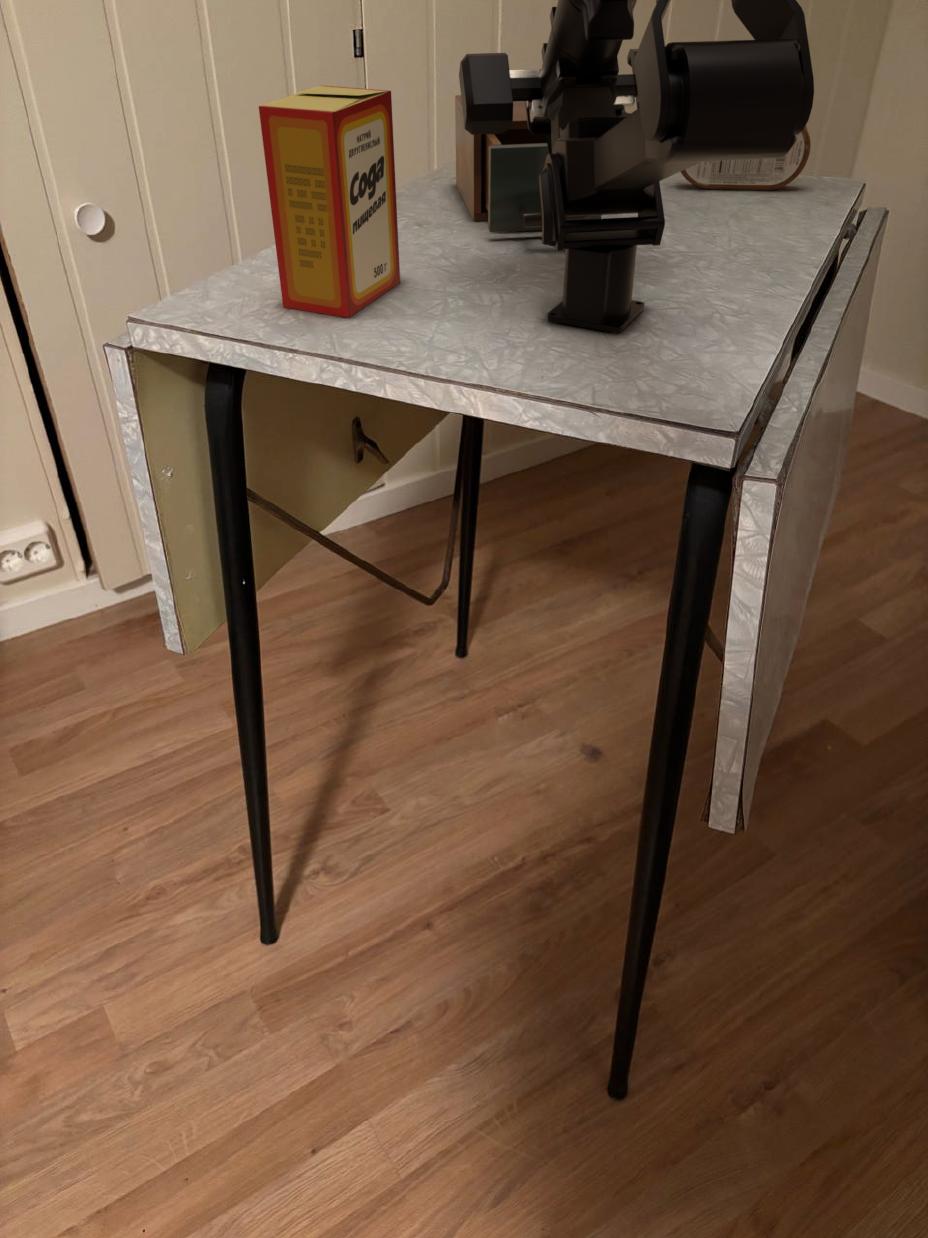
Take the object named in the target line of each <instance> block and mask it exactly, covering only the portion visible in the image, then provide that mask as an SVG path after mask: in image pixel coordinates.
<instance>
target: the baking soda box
mask: <svg viewBox="0 0 928 1238" xmlns="http://www.w3.org/2000/svg"><path fill="white" fill-rule="evenodd" d="M258 115H259V121H260V122H259V123H260V130H261V138H262V146H263V147H262V148H263V154H264V161H265V162H264V164H265V170H266V171H265V172H266V179H267V187H268V195H269V203H270V210H271V211H270V213H271V220H272V227H273V236H274V242H275V243H274V245H275V251H276V260H277V268H278V277H279V285H280V292H281V302H282V308H287V309H293V310H298V311H305V312H310V313H311V312H312V313H318V314H322V315H329V316H336V317H341V318H347V319H350V318H351V317H353V316H354V315H356V314H357V313H358V312H360V311H361V310H362V309H364V308H366V307H368V306H369V305H370V304H371V303H373V302H374V301H376V300H377V299H379V298H380V297H382V296H383V295H385V294H386V293H387V292H389V291H390V290H392V289H393V288H394V287H396V286H397V285H399V284H400V283H401V270H400V269H401V268H400V248H399V228H398V227H399V226H398V208H397V207H398V205H397V187H396V186H397V184H396V183H397V182H396V167H395V166H396V165H395V144H394V141H395V140H394V124H393V123H394V122H393V120H394V119H393V103H392V90H386V89H373V88H360V87H346V86H334V85H318V86H314V87H312V88H311V87H310V88H308V89H304V90H300V91H298V92H296V93H295V94H292V95H288V96H286V97H283V98H279V99H276V100H273V101H271V102H268V103H264V104H261V105H258Z"/></svg>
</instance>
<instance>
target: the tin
mask: <svg viewBox="0 0 928 1238" xmlns="http://www.w3.org/2000/svg"><path fill="white" fill-rule="evenodd" d="M796 137H797V140H796V143H795V144H794V145H793V147H792V148H791V150H790V151H789V152H788V153H787V154H786V155H784V156H783V157H782V158H772V159H749V160H726V161H702V162H700V163H698V164H696V165H693V166H691V167H689V168H687V169H685V170H683V171H681V172H680V173H681V175H682V177H684V179H685V180H686V181H687V182H689V184H691V185H693V186H695V187H698V188H701V189H716V190H749V191H750V190H753V191H754V190H755V191H772V190H778V189H781V188H784V187H786V186H787V185H788V184H790V183H792V182H793V181H794V180H795V179H797V177H799V175H801V173H802V172H803V170H804V168H805V167H806V165H807V162H808V160H809V157H810V153H811V146H812V145H811V137H810V134H809V130H808V127H807V125H806V126H805V128H804V130H803V131H802V132H801V133H799V134H798V135H796Z"/></svg>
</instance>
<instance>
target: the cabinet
mask: <svg viewBox="0 0 928 1238" xmlns="http://www.w3.org/2000/svg"><path fill="white" fill-rule="evenodd" d="M454 105H455V106H454V110H455V111H454V116H455V117H454V118H455V119H454V120H455V121H454V122H455V125H454V126H455V185H456V188H457V190H458V192H459V194H460V197H461V198H462V200H463V201H464V204H465V206H466V208H467V210H468V212H469V214H470V216H471V218H472V221H473V222H484V221H485V222H488V211H487V210H486V208H485V206H484V204H483V202H482V200H481V134H478V135H471V134H470V133H469V132H468V131H467V130H465V128H464V118H463V109H462V100H461V94H456V95H454ZM510 129H528V125H527V116H526V107H525V101H513V122H512V126H511V128H510ZM510 129H508V130H510Z"/></svg>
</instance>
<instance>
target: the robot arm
mask: <svg viewBox="0 0 928 1238" xmlns="http://www.w3.org/2000/svg"><path fill="white" fill-rule="evenodd" d="M637 2H638V0H557V4H556V6H552V7H551V10H550V14H549V21H550V32H549V36H548V39H547V42H543V43H542V47H541V52H540V53H541V60H542V64H541V68H532V69H531V68H530V69H529V68H528V69H510V61H509V54H507V53H506V52H487V53H486V52H483V53H481V52H480V53H466V54H465V55H464V56H463V57H462V59H461V60H460V62H459V70H458V81H459V89H460V95H461V100H462V109H463V118H464V128H465V130H467V131H468V132H469V133H470V134H471V135H478V134H501V133H503V132H505V131H506V130H508V129H510V128H511V126H512V122H513V101H525V107H526V116H527V125H528V129H529V131H530V132H531V133H532V134H534V135H545V137H546V141H547V145H548V150H549V153H552V154H548V155H547V157H546V160H545V165H544V168H543V171H542V173H541V174H540V175H539V185H540V197H541V208H542V230H541V243H542V245H545V246H550V247H553V248H554V249H555V250H556V251H564V250H565V251H564V253H565V254H564V272H563V288H562V301H560V302H559V303H558V304H557V305H556V306H554V308H552V309H551V310H550V311H549V312H547V314H546V320H547V321H549V322H554V323H558V324H559V323H560V324H565V325H571V326H575V327H582V328H588V329H593V330H599V331H605V332H611V333H621V332H622V331H623V330H624V329H625V328H626V327H627V326H628V325H629V324H630V323H632V321H633V320H634V319H635V318H637V316H639V314H641V312H643V311H644V309H645V302H643V301H641V300H634V299H633V290H634V280H635V270H636V260H637V251H638V250H637V249H638V246H655V247H656V246H661V243H662V238H663V234H664V230H665V226H666V220H665V211H664V205H663V197H662V190H661V183H660V182H661V181H663V180H665V179H667V178H670V177H673V176H674V175H676V174H679V173H681V171H683V170H685V169H687V168H689V167H691V166H693V165H696V164H698V163H700V162H702V161H726V160H749V159H772V158H782V157H783V156H784V155H786V154H787V153H788V152H789V151H790V150H791V148H792V147H793V145H794V144H795V143H796V140H797V137H796V135H798V134H799V133H801V132H802V131H803V130H804V128H805V126H806V127H807V124H808V122H809V121H810V116H811V113H812V110H813V105H814V98H815V97H814V96H815V79H814V72H813V64H812V58H811V51H810V44H809V38H808V37H809V36H808V29H807V23H806V15H805V12H804V9H803V8H802V6H801V5H800V3H799V2H798V0H731V9H732V10H733V13H734V14H735V16H736V17H737V19H738V20H739V21H740V22H741V23H742V25H743V26H744V27H745V29H746V30H747V32H748V33H749V34H750V36H751V37H752V39H738V40H737V39H736V40H733V39H731V40H705V41H704V40H702V41H701V40H700V41H699V40H698V41H671V42H668V43H667V44H666V45H665V36H664V29H663V20H664V17H665V16H666V12H667V10H668V8H669V7H670V6H669V5H670V3H671V2H672V0H655V6H654V8H653V10H652V13H651V15H650V18H649V21H648V23H647V26H646V28H645V30H644V33H643V35H642V38H641V40H640V43H639V45H638V48H629V51H628V54H627V56H626V61H627V64H628V65H629V67H631V71H632V72H631V73H629V74H628V73H626V74H625V73H624V74H619V73H620V67H619V60H618V59H619V58H618V55H619V53H620V50H621V47H622V44H623V41H630V40H633V38H634V34H635V20H634V10H635V7H636V5H637ZM635 102H636V109H635V110H634V111H633V112H627V111H626V107H633V106H634V105H635ZM628 214H629V215H631V214H637V216H629V217H626V216H625V217H610V218H609V217H608V218H606V217H605V218H601V219H584V220H566V218H565V217H566V216H588V215H602V216H606V215H609V216H610V215H628Z"/></svg>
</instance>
